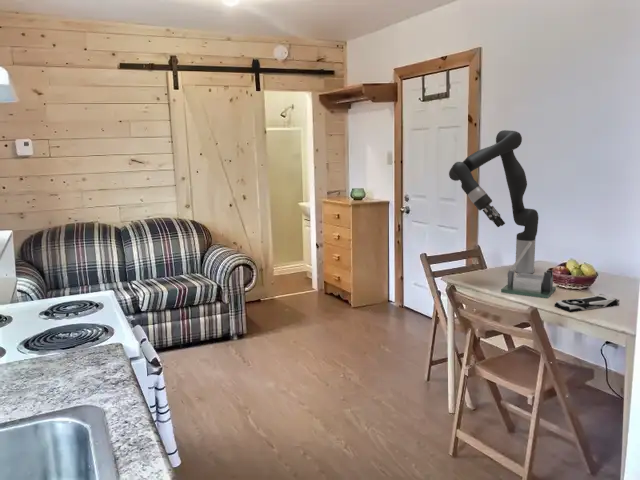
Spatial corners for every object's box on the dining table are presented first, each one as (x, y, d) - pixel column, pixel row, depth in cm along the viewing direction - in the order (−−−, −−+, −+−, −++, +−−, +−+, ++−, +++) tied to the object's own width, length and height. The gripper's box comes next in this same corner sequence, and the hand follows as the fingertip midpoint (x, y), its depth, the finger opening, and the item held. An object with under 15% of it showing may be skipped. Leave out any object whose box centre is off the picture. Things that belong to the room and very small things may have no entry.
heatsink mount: (501, 292, 246) (501, 270, 244) (510, 284, 259) (511, 264, 257) (547, 298, 235) (548, 275, 233) (555, 289, 248) (556, 268, 246)
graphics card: (619, 298, 222) (570, 305, 214) (619, 306, 222) (569, 313, 215) (600, 292, 231) (552, 299, 224) (599, 300, 232) (551, 307, 224)
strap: (510, 274, 249) (507, 271, 249) (512, 272, 251) (509, 270, 251) (531, 244, 241) (528, 242, 242) (532, 243, 244) (529, 241, 244)
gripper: (482, 193, 246) (505, 221, 243) (489, 192, 259) (511, 219, 255) (469, 203, 250) (492, 231, 246) (476, 202, 262) (498, 229, 258)
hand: (501, 225), depth 251 cm, fingers open, 8 cm apart
